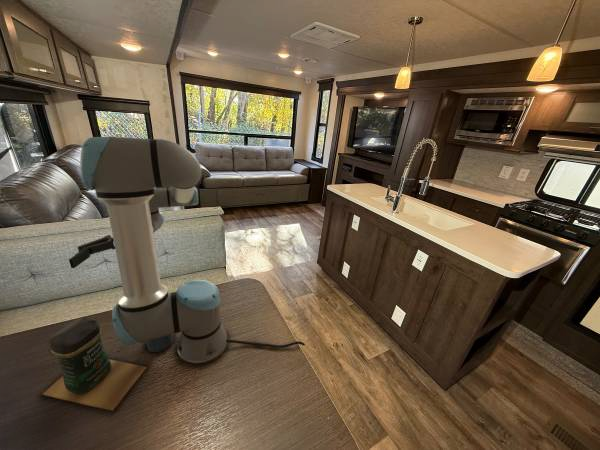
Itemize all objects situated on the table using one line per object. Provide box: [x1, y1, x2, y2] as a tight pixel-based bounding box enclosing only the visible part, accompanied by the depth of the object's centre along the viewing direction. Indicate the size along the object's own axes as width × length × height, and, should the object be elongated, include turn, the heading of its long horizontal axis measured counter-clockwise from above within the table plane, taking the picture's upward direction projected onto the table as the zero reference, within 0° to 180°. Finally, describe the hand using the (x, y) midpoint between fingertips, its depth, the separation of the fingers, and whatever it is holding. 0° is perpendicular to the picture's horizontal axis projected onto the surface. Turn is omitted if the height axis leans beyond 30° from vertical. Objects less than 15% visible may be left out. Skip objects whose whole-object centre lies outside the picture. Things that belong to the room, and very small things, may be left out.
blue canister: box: [145, 334, 174, 353], centre depth 79 cm, size 8×8×11 cm
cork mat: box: [42, 358, 148, 412], centre depth 68 cm, size 20×12×1 cm, turn 82°
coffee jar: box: [49, 316, 112, 394], centre depth 65 cm, size 10×8×19 cm
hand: (98, 264), depth 68 cm, fingers open, 13 cm apart
